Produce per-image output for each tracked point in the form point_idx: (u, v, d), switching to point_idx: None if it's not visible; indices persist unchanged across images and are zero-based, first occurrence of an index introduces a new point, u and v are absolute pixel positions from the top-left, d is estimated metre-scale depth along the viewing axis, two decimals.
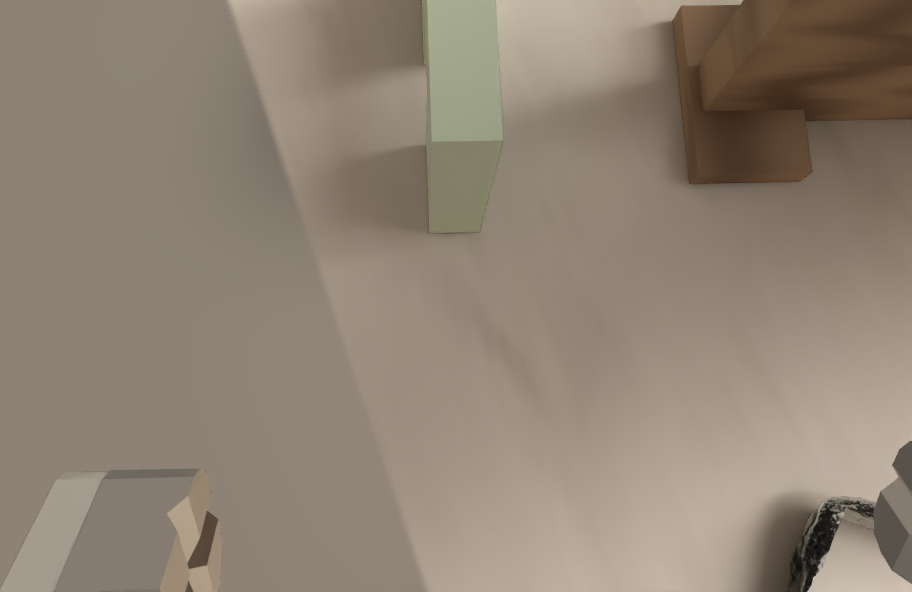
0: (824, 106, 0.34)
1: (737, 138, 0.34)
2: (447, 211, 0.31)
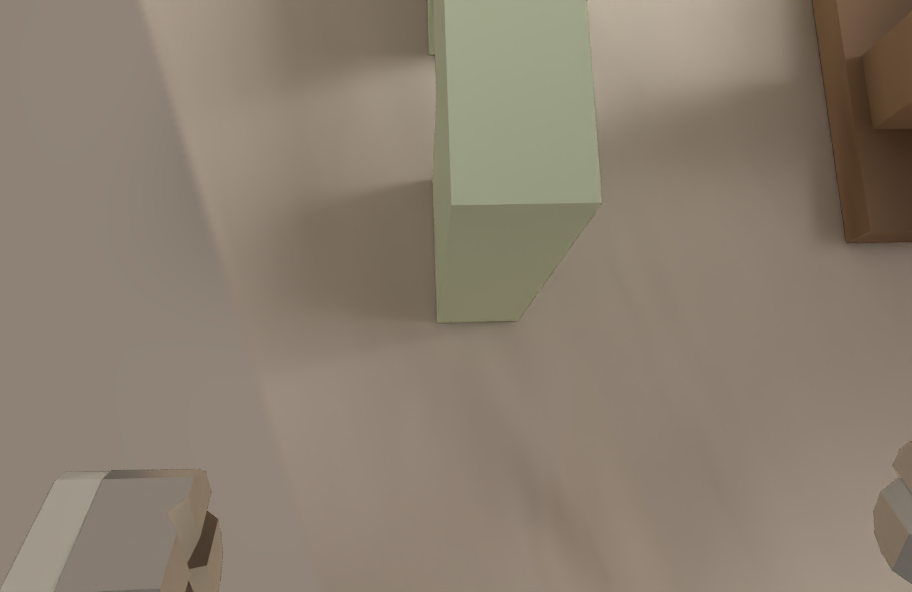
0: None
1: None
2: (469, 299, 0.18)
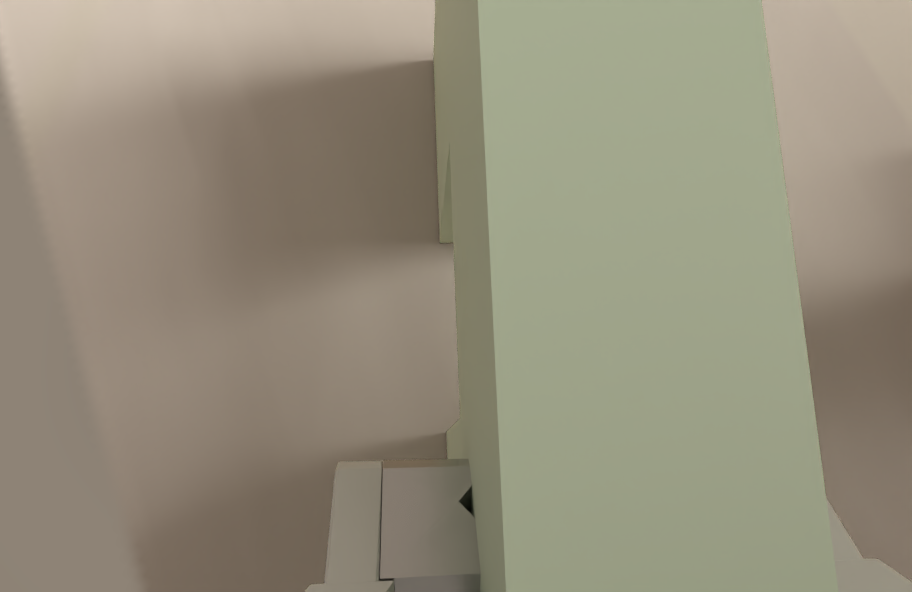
0: None
1: None
2: None
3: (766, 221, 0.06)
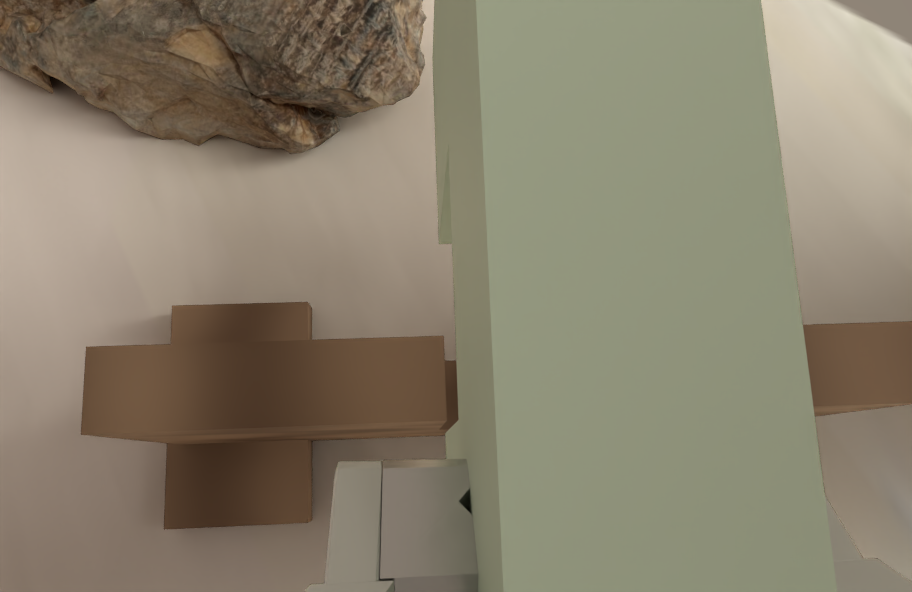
0: (329, 438, 0.28)
1: (219, 480, 0.28)
2: None
3: (766, 224, 0.06)
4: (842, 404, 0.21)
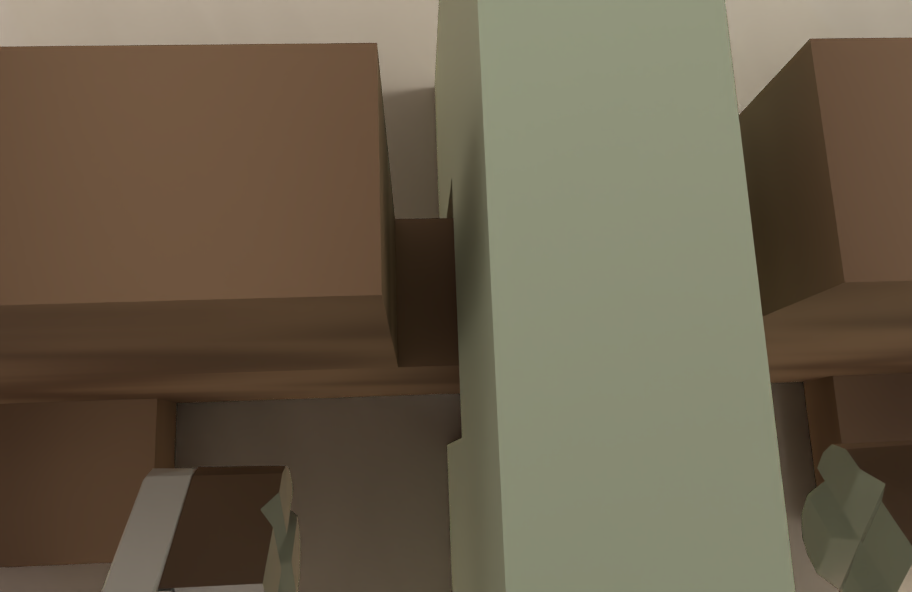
0: (196, 395, 0.14)
1: None
2: None
3: (737, 277, 0.06)
4: None
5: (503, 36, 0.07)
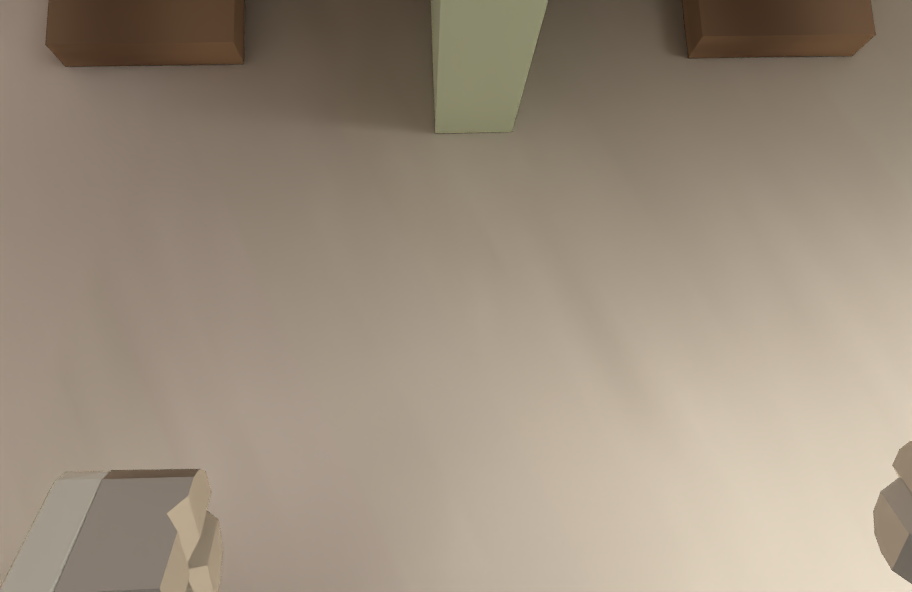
0: None
1: None
2: (465, 82, 0.19)
3: None
4: None
5: None
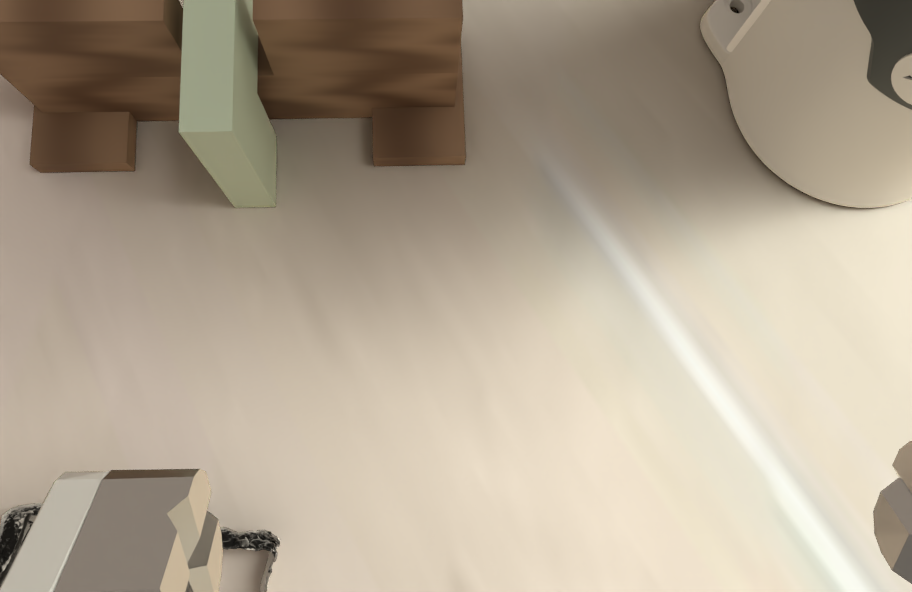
0: (142, 109, 0.42)
1: (68, 135, 0.41)
2: (234, 188, 0.39)
3: (230, 18, 0.34)
4: (409, 18, 0.34)
5: None
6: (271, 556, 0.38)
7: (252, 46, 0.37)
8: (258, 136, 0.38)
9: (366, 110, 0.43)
